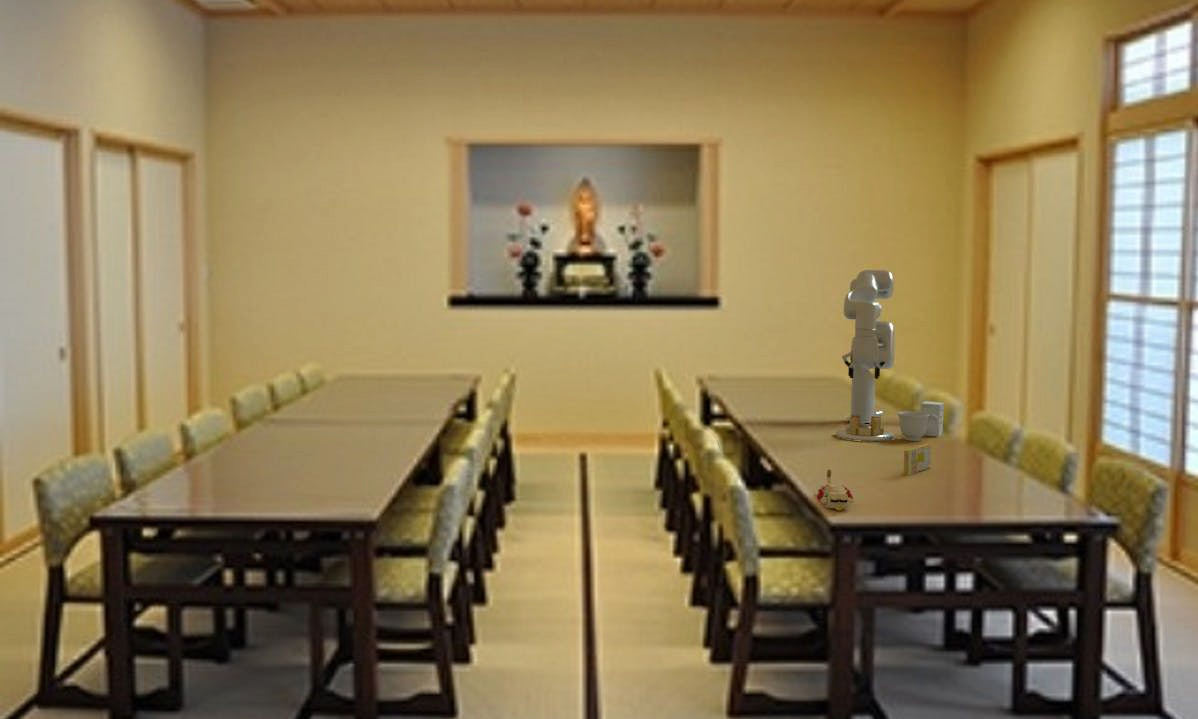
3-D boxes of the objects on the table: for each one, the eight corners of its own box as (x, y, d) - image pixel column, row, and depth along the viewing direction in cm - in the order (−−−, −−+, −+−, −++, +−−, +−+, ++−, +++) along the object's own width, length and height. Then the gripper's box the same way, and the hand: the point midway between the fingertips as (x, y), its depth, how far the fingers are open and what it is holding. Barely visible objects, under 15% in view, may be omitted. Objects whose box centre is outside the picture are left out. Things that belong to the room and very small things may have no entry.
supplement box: (919, 435, 481) (920, 403, 479) (923, 432, 487) (925, 400, 486) (938, 437, 477) (940, 404, 476) (943, 434, 484) (944, 402, 482)
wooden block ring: (865, 428, 484) (866, 413, 484) (891, 433, 472) (892, 418, 472) (838, 431, 477) (839, 416, 476) (864, 436, 465) (864, 420, 465)
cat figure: (810, 498, 369) (821, 509, 344) (811, 468, 369) (821, 478, 344) (844, 499, 369) (857, 510, 344) (845, 469, 368) (858, 479, 343)
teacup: (938, 443, 462) (939, 416, 461) (896, 441, 465) (897, 415, 464) (936, 438, 474) (937, 412, 473) (895, 436, 477) (896, 410, 476)
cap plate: (865, 430, 490) (866, 420, 490) (906, 439, 471) (907, 428, 471) (823, 435, 478) (823, 424, 478) (863, 443, 460) (864, 432, 459)
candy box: (924, 468, 413) (925, 443, 412) (930, 468, 412) (931, 444, 411) (902, 474, 401) (903, 449, 400) (908, 475, 399) (909, 450, 399)
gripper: (885, 333, 482) (883, 377, 483) (840, 332, 481) (839, 377, 482) (890, 334, 474) (888, 379, 475) (845, 333, 474) (843, 378, 475)
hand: (863, 378), depth 479 cm, fingers open, 9 cm apart
